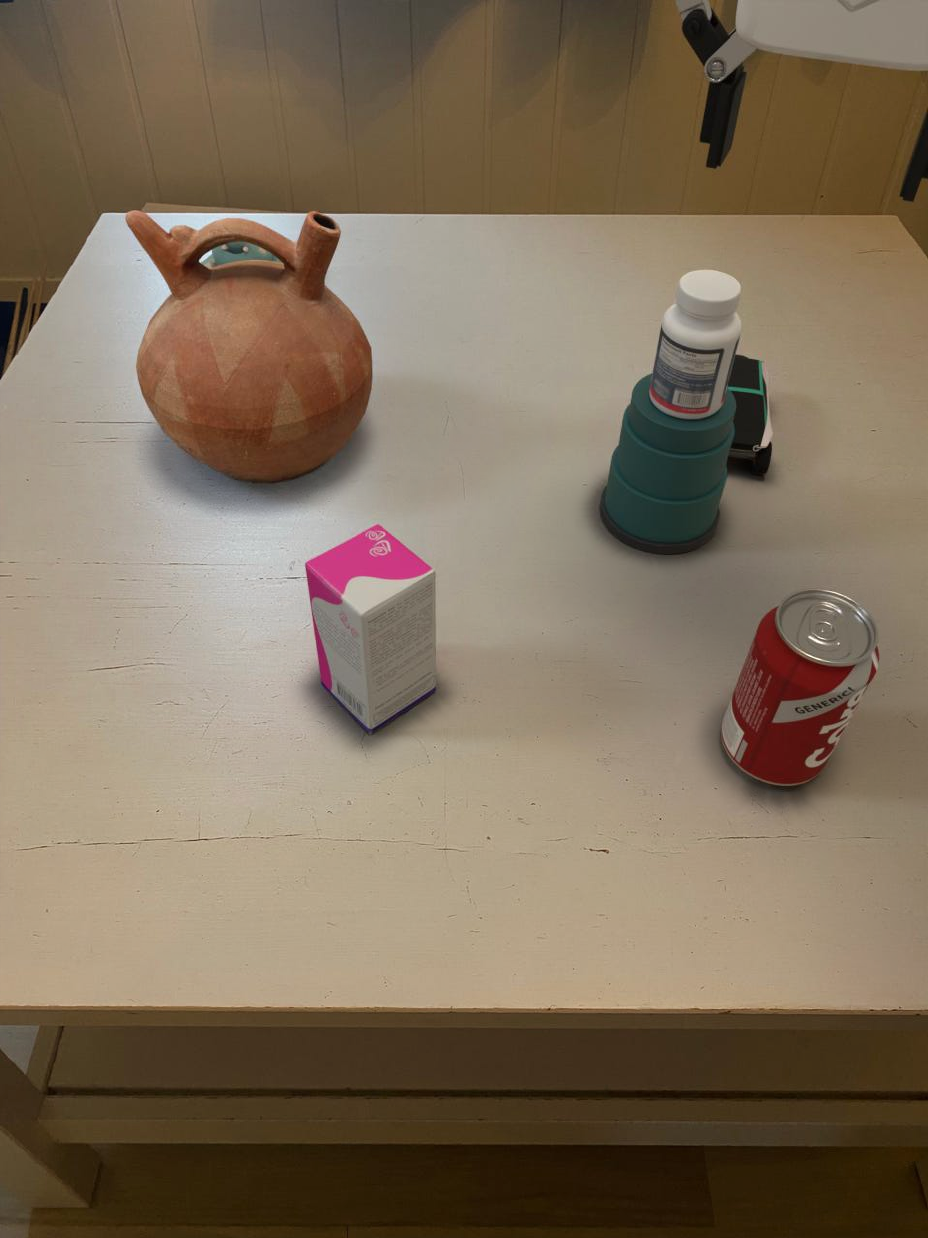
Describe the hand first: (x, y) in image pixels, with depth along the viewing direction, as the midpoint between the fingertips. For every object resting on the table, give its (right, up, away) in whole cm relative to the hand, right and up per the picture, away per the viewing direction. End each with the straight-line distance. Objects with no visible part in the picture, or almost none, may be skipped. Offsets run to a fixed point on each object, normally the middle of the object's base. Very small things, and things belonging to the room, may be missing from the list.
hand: (810, 173), depth 49 cm
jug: (-34, -8, +33) cm, 48 cm away
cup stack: (-2, -14, +27) cm, 31 cm away
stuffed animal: (-41, +10, +49) cm, 64 cm away
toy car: (+5, -7, +34) cm, 35 cm away
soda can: (+2, -31, +13) cm, 34 cm away
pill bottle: (-2, -7, +19) cm, 20 cm away
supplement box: (-24, -28, +15) cm, 39 cm away
